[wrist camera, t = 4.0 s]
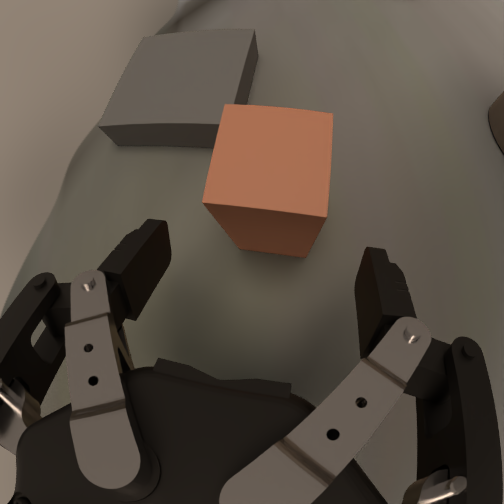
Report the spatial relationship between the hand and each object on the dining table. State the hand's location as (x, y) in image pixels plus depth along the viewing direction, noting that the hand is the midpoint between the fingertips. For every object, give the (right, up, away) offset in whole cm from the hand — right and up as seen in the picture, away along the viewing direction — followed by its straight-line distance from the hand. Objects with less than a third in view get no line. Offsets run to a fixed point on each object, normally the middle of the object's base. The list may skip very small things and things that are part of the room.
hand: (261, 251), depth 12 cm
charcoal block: (-6, +14, +12) cm, 20 cm away
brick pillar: (+1, +2, +9) cm, 9 cm away
